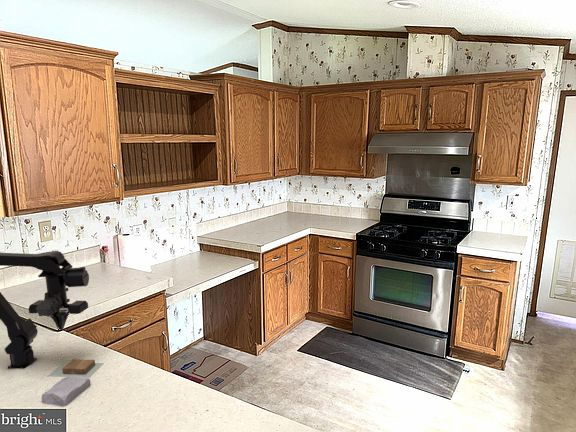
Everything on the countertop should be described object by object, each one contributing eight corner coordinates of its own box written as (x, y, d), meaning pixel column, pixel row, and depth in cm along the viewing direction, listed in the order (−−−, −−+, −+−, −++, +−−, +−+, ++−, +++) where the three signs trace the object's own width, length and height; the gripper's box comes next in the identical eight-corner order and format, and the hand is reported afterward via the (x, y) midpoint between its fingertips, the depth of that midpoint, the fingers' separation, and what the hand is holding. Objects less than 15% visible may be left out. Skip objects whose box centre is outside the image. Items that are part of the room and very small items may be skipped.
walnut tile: (62, 368, 136) (84, 369, 136) (72, 359, 142) (94, 359, 142) (62, 374, 137) (85, 374, 136) (73, 364, 143) (95, 365, 142)
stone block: (39, 410, 121) (67, 408, 119) (35, 395, 121) (63, 392, 119) (68, 389, 133) (94, 386, 131) (64, 375, 132) (90, 372, 130)
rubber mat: (47, 377, 136) (47, 376, 136) (63, 362, 144) (63, 362, 144) (90, 378, 134) (89, 377, 134) (104, 363, 143) (104, 363, 143)
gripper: (14, 295, 134) (20, 339, 137) (67, 296, 133) (72, 340, 135) (37, 284, 145) (42, 325, 148) (86, 284, 144) (91, 326, 146)
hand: (61, 329), depth 144 cm, fingers closed
